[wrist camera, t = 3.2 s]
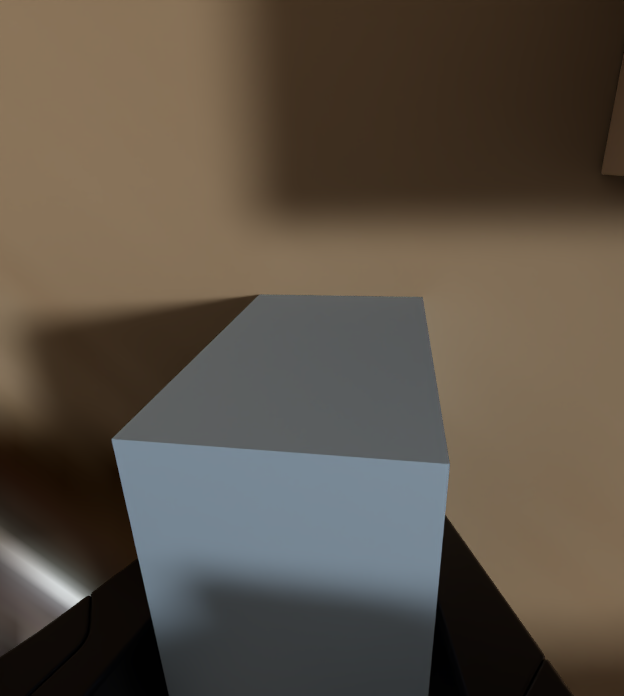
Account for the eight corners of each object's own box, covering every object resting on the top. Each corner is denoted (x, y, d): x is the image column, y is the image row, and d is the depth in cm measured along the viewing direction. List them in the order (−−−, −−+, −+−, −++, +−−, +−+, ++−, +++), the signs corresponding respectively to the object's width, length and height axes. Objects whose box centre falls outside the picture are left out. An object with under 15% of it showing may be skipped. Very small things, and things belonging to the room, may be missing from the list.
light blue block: (404, 616, 11) (406, 926, 7) (283, 601, 12) (209, 878, 7) (422, 296, 8) (450, 464, 4) (260, 293, 9) (111, 438, 4)
